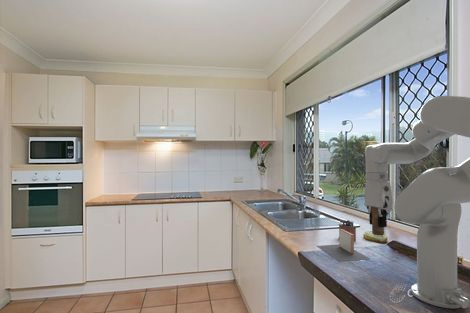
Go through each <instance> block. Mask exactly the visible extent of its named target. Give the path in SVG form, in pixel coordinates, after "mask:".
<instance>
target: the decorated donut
mask: <svg viewBox="0 0 470 313" xmlns="http://www.w3.org/2000/svg"><path fill="white" fill-rule="evenodd" d="M362 236H363V239H364V240H367V241H370V242H375V243H379V244H380V243H381V244H384V243H386V242H388V241H389V240H388V237H389V236H388V235H387V234H386V233H384V235H374V234H372V230H369V231H368V230H367V231H364V232H363V235H362Z"/></svg>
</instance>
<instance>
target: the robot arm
mask: <svg viewBox="0 0 470 313" xmlns="http://www.w3.org/2000/svg"><path fill="white" fill-rule="evenodd" d="M419 118H420V120H418V121H416V122H415V123H414V124H413V125H412V129H411V133H412V136H413V139H411V140H410V141H408V142H383V143H379V144H371V145H367V146H366V147H365V160H364V161H365V183H364V184H365V185H364V203H363V204H364V206H365V207H366V209H367V212H368V214H369V215H368V216H369V219H368V220H369V225H371V226H372V206H374V207H376V208H378V211H379V216H378V227H384V228H387V226H388V223H387V221H388V220H387V217H388V215H389V214H390V213H391V212H392V211H393V208H394V213H395V215H396V216H397V217H398V219H399V220H401V221H402V222H404V223H405V224H409V225H419V226H418V229H417V234H416V283H415V284H412V285H411V287H410V293H411V294H412V295H413V296H414V297H415V298H417V299H418V300H420V301H422V302H424V303H425V304H429V305H432V306H435V307H437V308H438V307H440V308H445V309H461V308H462V309H467V307H469V306H468V305H469V304H470V298H467V297H466V296H463V295H462V288H460V287H458V231H459V225H460V223H461V222H460V220H461V216H462V204H466V203H468V204H469V203H470V157H468V158H467V159H466V160H465V161H463V162H462V163H460V164H458V165H456V166H455V165H454V166H445V167H443V166H440V167H433V168H429V169H427V170H425V171H423V172H422V173H421V174H419V175H418V176H417V177H416V178H415V179H414V180H413V181H412V182H410V183H409V184H408V185H407V186H406V187H405V188H404V189H403V190H401V192H399V194H398V195H397V197H396V199H395V201H394V202H393V191H392V186H391V182H390V181H389V168H388V167H389V166H388V165H402V164H403V165H408V164H412V163H415V162H418V161H420V160H421V159H423V158H425V157H427V156H429V155H430V154H431V153H432V152H433V151H434V149H435V147H436V145H438V144H440V143H441V142H444V141H445V140H446V139H449V138H450V137H452V136H455V135H456V136H462V137H465V138H470V97H467V96H458V95H457V96H456V95H437V96H433V97H432V98H430V99H428V100H427V101H426V102H425V103H424V104H422V106H421V108H420V111H419ZM393 203H394V204H393ZM393 205H394V207H393ZM383 207H384V208H383ZM382 209H383V211H382Z"/></svg>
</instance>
